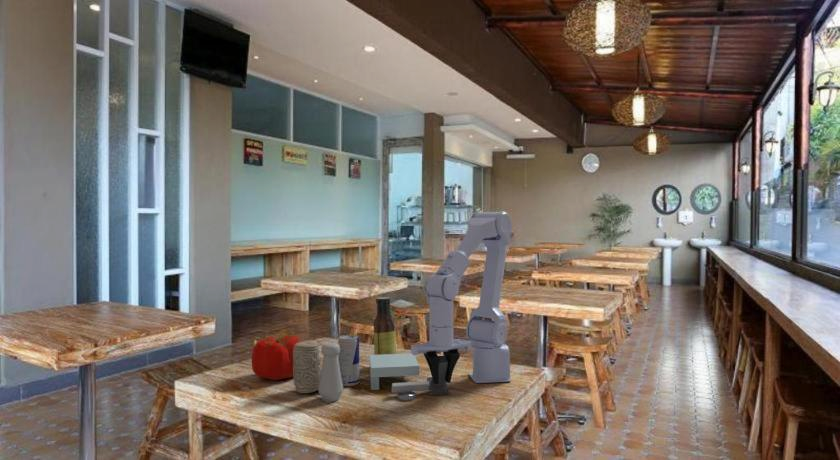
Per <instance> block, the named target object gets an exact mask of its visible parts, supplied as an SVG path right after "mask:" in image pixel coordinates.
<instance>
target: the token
mask: <svg viewBox="0 0 840 460" xmlns="http://www.w3.org/2000/svg"><path fill="white" fill-rule="evenodd" d="M396 393H397V394H396V399H397V400H398V401H401V402H411V401H414V400H416V397H417V396H416V395H417V394H416V391H410V392H396Z"/></svg>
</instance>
